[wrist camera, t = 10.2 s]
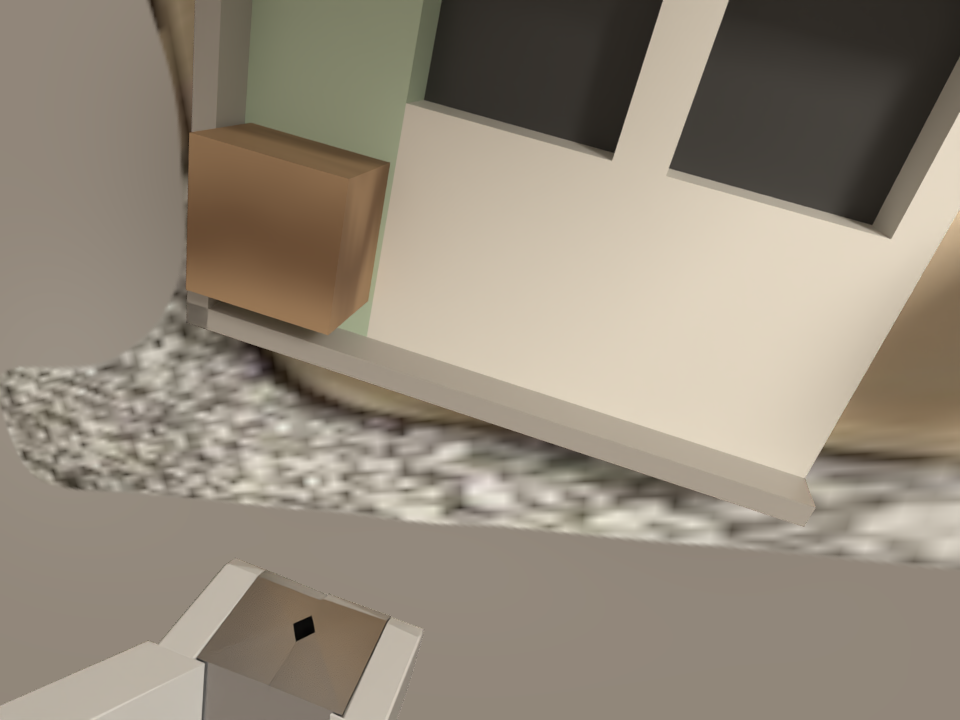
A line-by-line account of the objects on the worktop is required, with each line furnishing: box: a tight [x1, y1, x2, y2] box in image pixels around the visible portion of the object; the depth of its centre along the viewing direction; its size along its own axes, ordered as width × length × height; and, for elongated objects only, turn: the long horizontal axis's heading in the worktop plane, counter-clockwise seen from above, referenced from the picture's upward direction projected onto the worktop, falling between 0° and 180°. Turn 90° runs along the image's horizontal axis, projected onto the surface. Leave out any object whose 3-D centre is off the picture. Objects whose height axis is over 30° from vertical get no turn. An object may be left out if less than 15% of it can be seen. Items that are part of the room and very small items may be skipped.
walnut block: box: [186, 123, 390, 335], centre depth 26 cm, size 6×6×4 cm
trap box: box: [186, 0, 960, 527], centre depth 25 cm, size 20×27×4 cm
